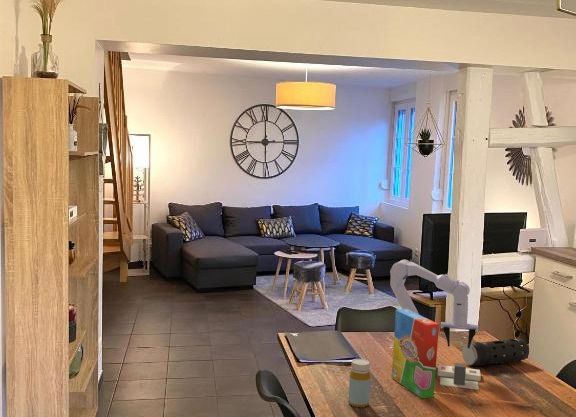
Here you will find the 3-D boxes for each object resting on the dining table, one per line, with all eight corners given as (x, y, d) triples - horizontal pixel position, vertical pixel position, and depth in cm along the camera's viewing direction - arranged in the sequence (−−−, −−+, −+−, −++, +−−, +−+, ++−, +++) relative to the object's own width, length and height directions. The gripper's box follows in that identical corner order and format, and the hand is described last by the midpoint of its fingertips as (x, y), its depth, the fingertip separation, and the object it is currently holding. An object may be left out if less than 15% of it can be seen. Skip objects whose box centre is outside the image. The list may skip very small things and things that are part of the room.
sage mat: (439, 385, 228) (440, 384, 228) (440, 378, 236) (440, 377, 236) (478, 391, 225) (478, 389, 225) (477, 383, 232) (477, 381, 232)
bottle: (346, 399, 212) (348, 358, 211) (366, 399, 213) (368, 358, 211) (350, 408, 205) (352, 365, 204) (370, 408, 206) (373, 365, 204)
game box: (391, 378, 234) (394, 309, 232) (403, 376, 236) (407, 308, 234) (422, 399, 215) (426, 324, 213) (434, 397, 217) (439, 323, 215)
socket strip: (437, 376, 238) (438, 370, 237) (437, 370, 244) (438, 364, 244) (480, 382, 234) (480, 375, 233) (479, 375, 240) (479, 369, 240)
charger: (453, 384, 229) (454, 366, 228) (453, 380, 233) (454, 362, 232) (464, 385, 228) (465, 367, 227) (464, 381, 232) (465, 363, 231)
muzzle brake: (528, 365, 255) (530, 341, 254) (474, 372, 245) (476, 347, 244) (512, 358, 264) (514, 334, 263) (460, 364, 254) (461, 340, 253)
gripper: (441, 314, 240) (439, 347, 241) (479, 317, 236) (478, 351, 237) (441, 310, 246) (440, 342, 248) (478, 313, 243) (477, 346, 244)
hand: (458, 346), depth 243 cm, fingers open, 7 cm apart
